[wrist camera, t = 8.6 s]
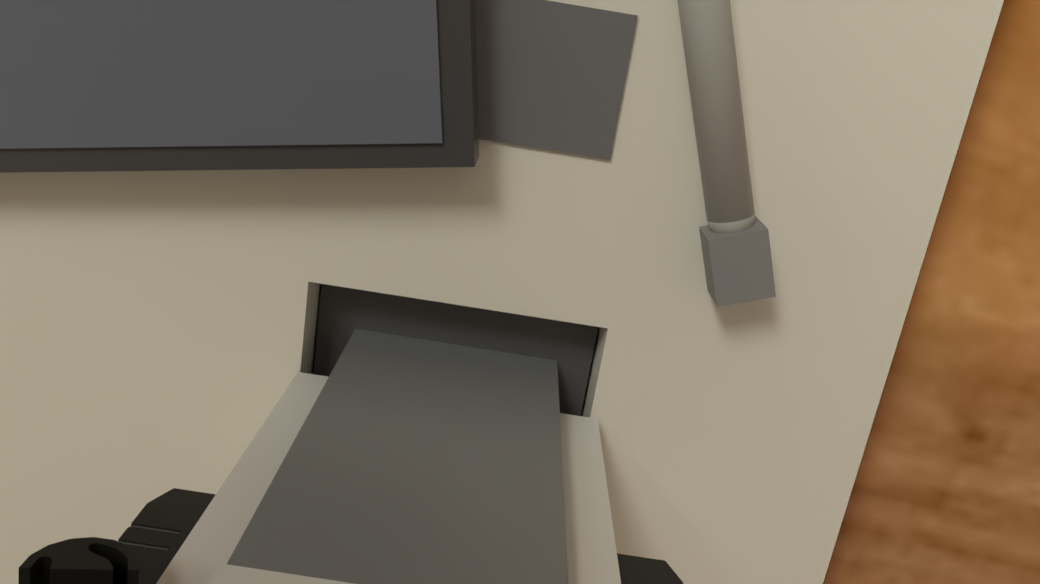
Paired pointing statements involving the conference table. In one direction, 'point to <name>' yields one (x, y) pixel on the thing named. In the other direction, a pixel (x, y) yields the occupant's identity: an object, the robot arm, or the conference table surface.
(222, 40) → the phone
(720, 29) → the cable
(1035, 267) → the conference table surface
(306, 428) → the gray rectangular block
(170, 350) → the outlet plate
